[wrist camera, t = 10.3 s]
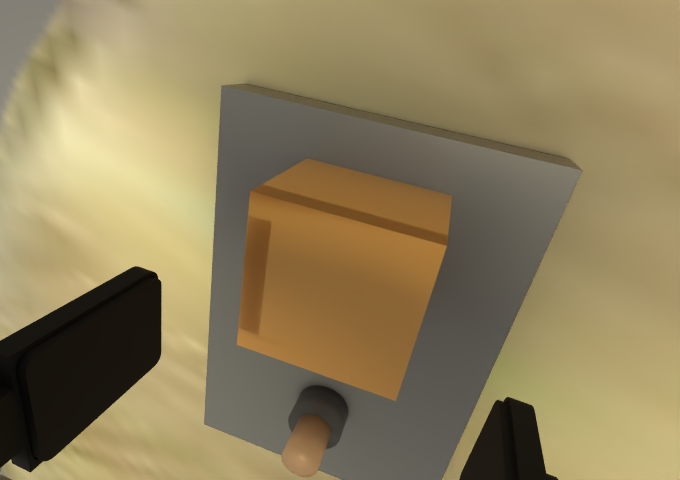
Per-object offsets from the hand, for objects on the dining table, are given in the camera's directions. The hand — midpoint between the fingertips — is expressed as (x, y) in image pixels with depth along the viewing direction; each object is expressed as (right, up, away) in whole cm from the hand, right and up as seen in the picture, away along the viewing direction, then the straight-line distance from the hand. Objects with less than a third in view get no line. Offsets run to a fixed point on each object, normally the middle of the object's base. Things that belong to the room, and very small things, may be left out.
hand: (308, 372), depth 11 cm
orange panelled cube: (+2, +3, +7) cm, 8 cm away
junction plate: (+1, 0, +11) cm, 11 cm away
